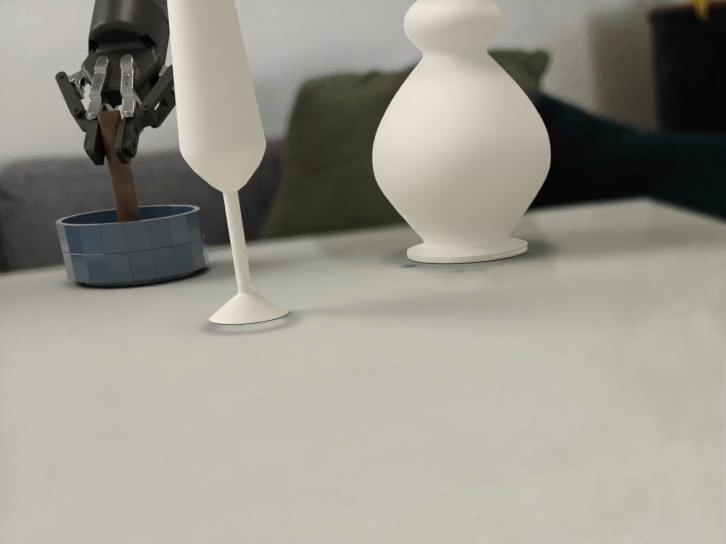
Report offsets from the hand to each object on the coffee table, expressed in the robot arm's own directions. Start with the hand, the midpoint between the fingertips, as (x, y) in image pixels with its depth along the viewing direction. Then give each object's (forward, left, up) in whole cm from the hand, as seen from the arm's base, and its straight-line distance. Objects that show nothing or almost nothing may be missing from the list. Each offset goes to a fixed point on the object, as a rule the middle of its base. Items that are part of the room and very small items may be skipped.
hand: (108, 158), depth 109 cm
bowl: (0, +2, -11) cm, 12 cm away
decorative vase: (+34, +2, -12) cm, 36 cm away
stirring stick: (0, +2, -10) cm, 10 cm away
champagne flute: (+15, -23, -12) cm, 30 cm away
